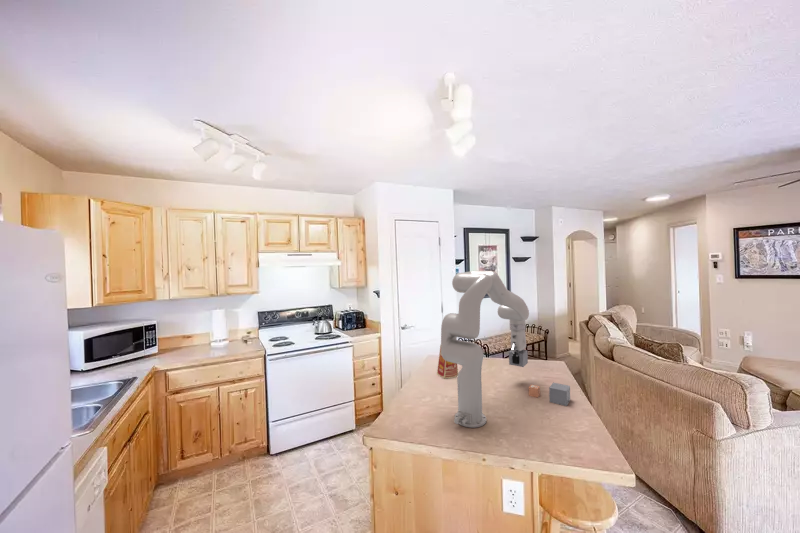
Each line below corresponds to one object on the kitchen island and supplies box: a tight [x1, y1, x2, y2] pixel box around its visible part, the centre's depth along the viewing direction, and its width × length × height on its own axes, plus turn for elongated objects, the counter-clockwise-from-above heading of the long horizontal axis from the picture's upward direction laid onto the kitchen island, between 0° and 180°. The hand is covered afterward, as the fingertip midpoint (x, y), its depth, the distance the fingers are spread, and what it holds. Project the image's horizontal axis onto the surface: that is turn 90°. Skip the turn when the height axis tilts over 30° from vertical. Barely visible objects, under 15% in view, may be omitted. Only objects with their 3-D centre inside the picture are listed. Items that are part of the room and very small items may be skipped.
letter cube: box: [528, 384, 541, 398], centre depth 150 cm, size 4×4×4 cm
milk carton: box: [436, 344, 459, 380], centre depth 178 cm, size 9×9×20 cm
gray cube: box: [508, 349, 529, 368], centre depth 162 cm, size 7×7×6 cm
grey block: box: [548, 382, 571, 407], centre depth 143 cm, size 7×7×6 cm
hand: (518, 361), depth 163 cm, fingers closed on gray cube, 7 cm apart
